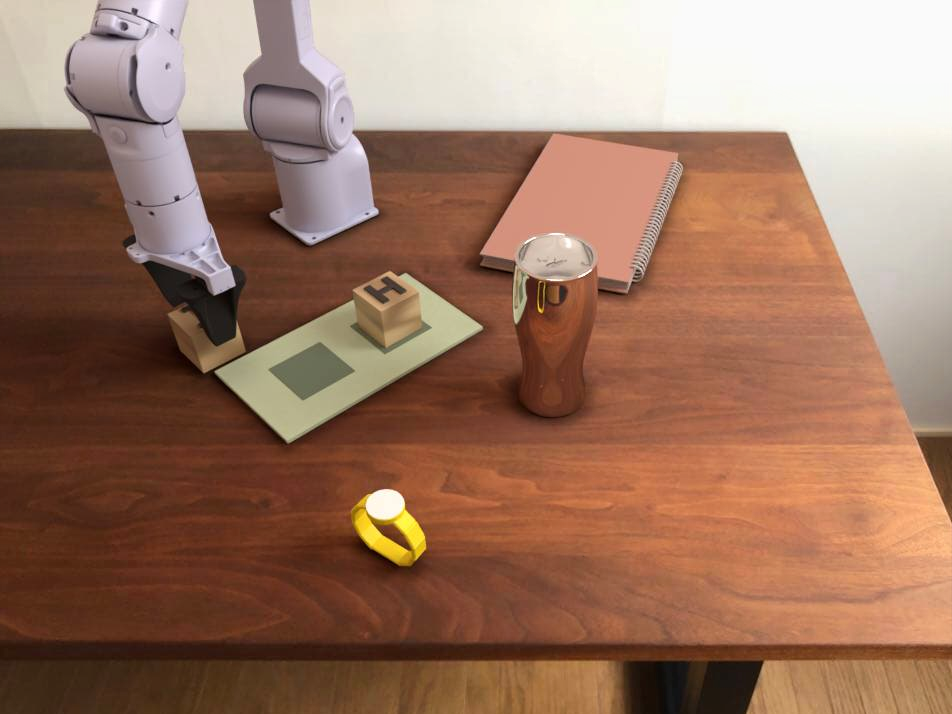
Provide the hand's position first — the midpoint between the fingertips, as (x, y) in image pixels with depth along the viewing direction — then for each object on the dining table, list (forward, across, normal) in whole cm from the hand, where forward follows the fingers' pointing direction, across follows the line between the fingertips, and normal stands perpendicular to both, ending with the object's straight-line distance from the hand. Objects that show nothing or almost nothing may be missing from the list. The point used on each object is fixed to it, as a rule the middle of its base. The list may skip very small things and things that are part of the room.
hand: (202, 320), depth 81 cm
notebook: (+4, +8, +43) cm, 44 cm away
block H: (+3, +9, +14) cm, 17 cm away
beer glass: (+4, +26, +19) cm, 32 cm away
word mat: (+4, +9, +10) cm, 14 cm away
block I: (+4, 0, 0) cm, 4 cm away
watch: (+4, +30, -2) cm, 30 cm away
